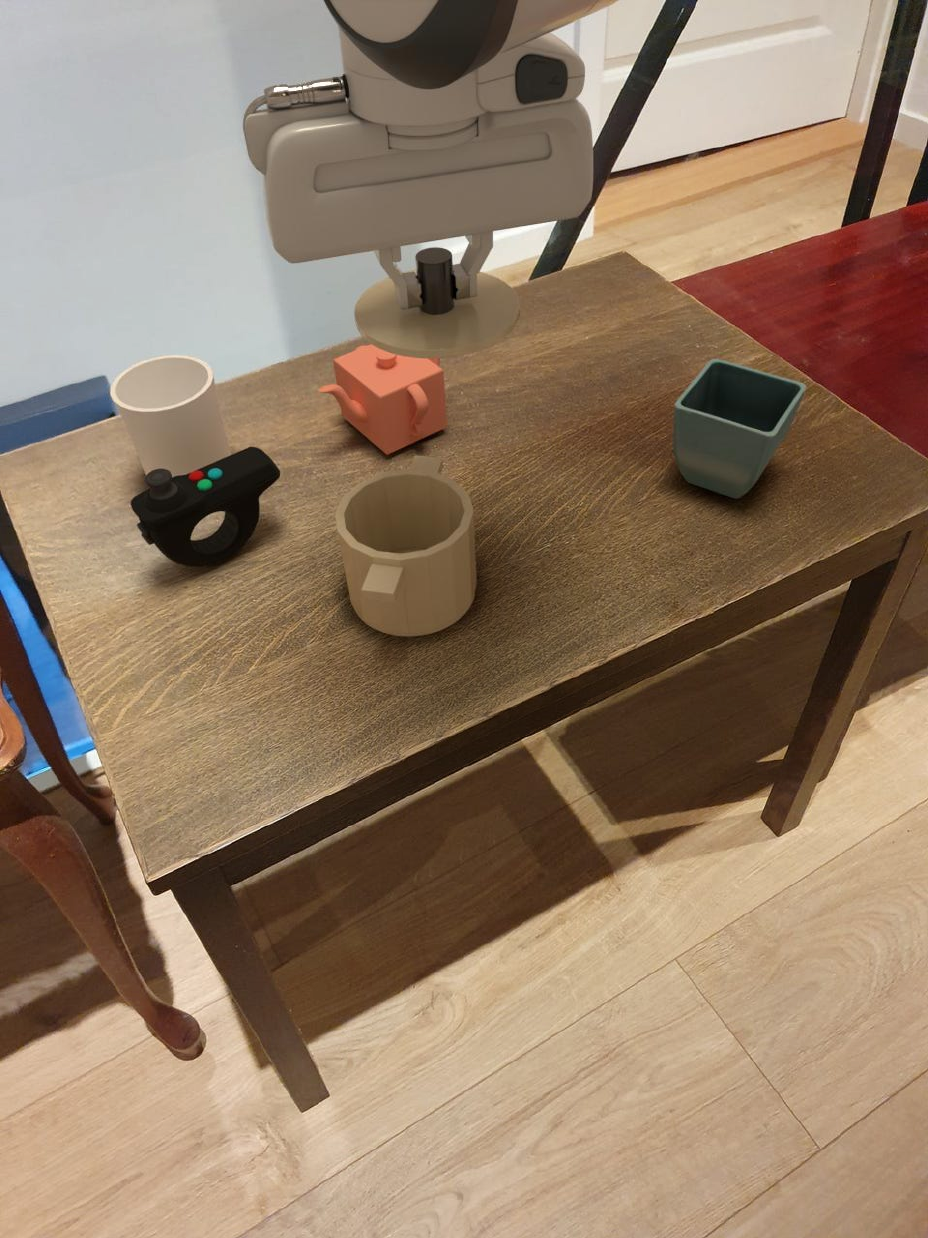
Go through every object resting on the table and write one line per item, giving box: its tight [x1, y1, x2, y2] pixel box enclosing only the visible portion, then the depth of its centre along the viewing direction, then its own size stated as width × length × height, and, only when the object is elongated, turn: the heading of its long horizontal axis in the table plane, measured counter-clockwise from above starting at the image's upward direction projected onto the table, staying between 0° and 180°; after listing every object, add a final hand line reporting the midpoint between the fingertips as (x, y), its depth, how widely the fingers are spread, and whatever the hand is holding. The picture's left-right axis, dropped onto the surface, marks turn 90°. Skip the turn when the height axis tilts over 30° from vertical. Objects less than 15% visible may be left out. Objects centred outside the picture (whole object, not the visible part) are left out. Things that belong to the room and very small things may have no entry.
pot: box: [334, 455, 477, 638], centre depth 71 cm, size 10×16×8 cm, turn 168°
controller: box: [130, 446, 281, 568], centre depth 74 cm, size 4×12×10 cm, turn 128°
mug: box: [110, 354, 232, 478], centre depth 82 cm, size 11×9×10 cm
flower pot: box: [672, 358, 807, 500], centre depth 79 cm, size 9×9×9 cm
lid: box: [353, 246, 521, 359], centre depth 59 cm, size 11×11×5 cm
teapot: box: [317, 343, 448, 456], centre depth 87 cm, size 12×15×8 cm
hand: (436, 299), depth 60 cm, fingers closed on lid, 2 cm apart
